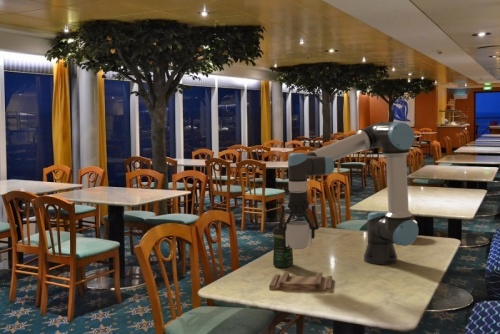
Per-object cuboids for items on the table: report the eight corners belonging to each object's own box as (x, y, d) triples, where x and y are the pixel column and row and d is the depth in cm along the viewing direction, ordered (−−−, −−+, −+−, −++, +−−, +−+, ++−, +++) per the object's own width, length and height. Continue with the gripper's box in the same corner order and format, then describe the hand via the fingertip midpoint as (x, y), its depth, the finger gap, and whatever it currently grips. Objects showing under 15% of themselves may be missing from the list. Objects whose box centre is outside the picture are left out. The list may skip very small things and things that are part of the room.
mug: (304, 251, 217) (303, 226, 216) (283, 249, 221) (283, 224, 220) (316, 244, 228) (316, 220, 227) (296, 242, 232) (296, 218, 231)
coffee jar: (285, 269, 247) (285, 228, 245) (270, 266, 251) (269, 226, 249) (296, 264, 255) (295, 224, 253) (281, 261, 259) (280, 223, 257)
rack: (332, 279, 229) (332, 273, 229) (330, 291, 214) (330, 284, 213) (275, 277, 234) (274, 271, 234) (269, 289, 218) (269, 282, 218)
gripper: (325, 190, 224) (326, 244, 226) (273, 189, 228) (274, 243, 230) (324, 192, 217) (325, 248, 219) (270, 192, 221) (271, 247, 223)
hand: (299, 245), depth 225 cm, fingers closed on mug, 9 cm apart
